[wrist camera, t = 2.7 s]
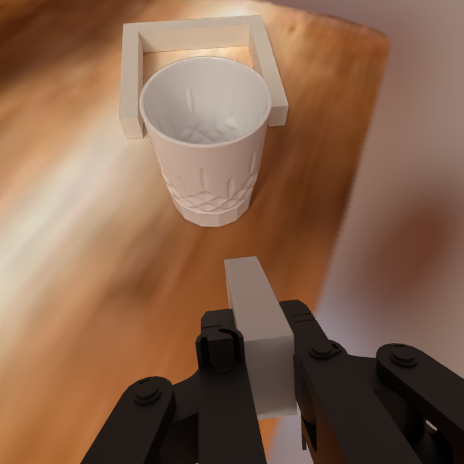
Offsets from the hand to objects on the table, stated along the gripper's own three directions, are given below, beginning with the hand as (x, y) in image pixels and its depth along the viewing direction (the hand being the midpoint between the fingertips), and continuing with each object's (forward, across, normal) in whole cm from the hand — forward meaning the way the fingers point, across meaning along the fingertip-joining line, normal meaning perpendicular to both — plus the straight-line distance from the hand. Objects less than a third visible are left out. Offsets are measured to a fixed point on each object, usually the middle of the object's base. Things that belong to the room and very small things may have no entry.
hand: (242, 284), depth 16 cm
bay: (+24, -1, +12) cm, 27 cm away
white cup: (+14, -1, +2) cm, 14 cm away
